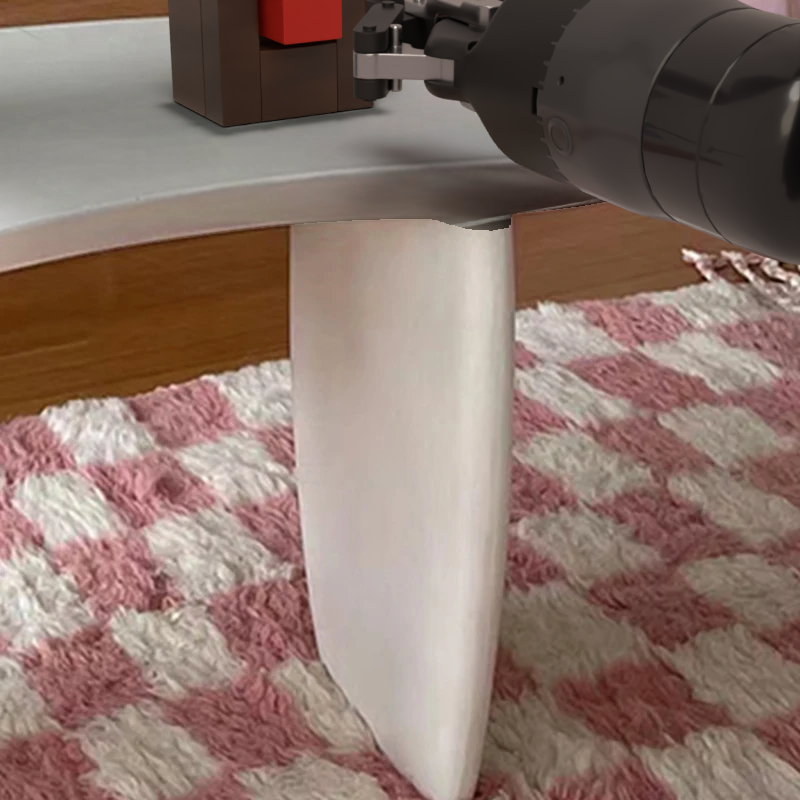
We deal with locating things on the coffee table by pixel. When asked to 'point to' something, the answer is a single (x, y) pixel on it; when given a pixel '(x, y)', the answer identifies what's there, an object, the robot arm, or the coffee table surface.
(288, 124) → the coffee table surface
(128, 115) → the coffee table surface
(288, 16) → the red button
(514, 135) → the robot arm
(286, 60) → the switch box
